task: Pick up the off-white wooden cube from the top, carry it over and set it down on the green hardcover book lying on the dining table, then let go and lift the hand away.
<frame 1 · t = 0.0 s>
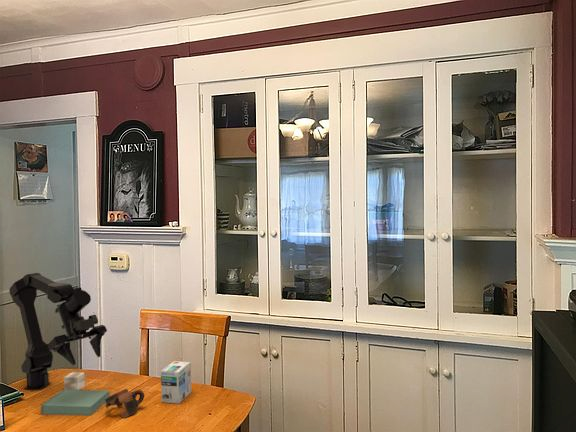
hand: (87, 360, 163), 15 cm above the table, tool tilted 35°, fingers open, 9 cm apart
wooden cube: (74, 388, 179), on the table
green book: (77, 406, 163), on the table
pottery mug: (125, 412, 158), on the table
light bulb box: (176, 397, 169), on the table
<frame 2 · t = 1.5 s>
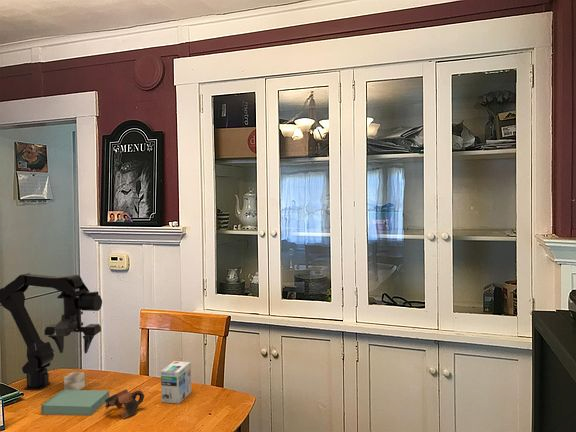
hand: (73, 353, 178), 13 cm above the table, tool pointing down, fingers open, 9 cm apart
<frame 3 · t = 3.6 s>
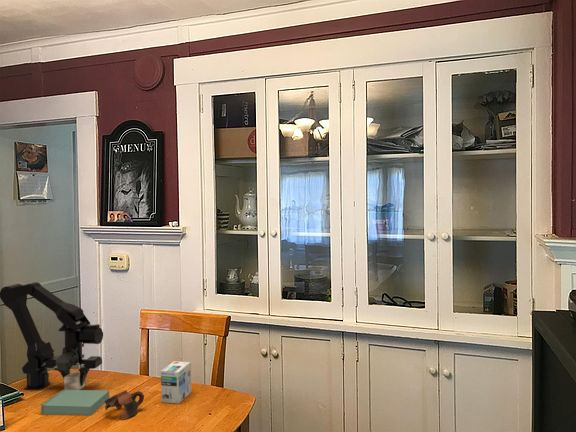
hand: (74, 385, 179), 1 cm above the table, tool pointing down, fingers closed on wooden cube, 5 cm apart
wooden cube: (74, 388, 179), on the table, touching gripper
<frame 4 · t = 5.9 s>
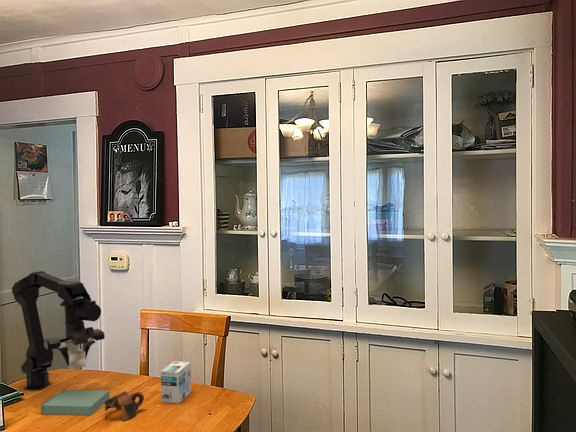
hand: (76, 363, 171), 11 cm above the table, tool pointing down, fingers closed on wooden cube, 5 cm apart
wooden cube: (76, 366, 172), point 10 cm above the table, touching gripper
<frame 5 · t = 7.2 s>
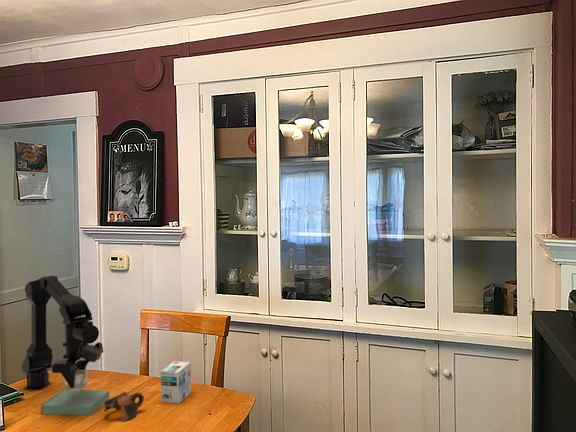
hand: (76, 384, 163), 7 cm above the table, tool pointing down, fingers closed on wooden cube, 5 cm apart
wooden cube: (76, 387, 163), point 6 cm above the table, touching gripper
when the fingers open (5 cm above the table, at t = 8.3 s): wooden cube drops 2 cm, resting on green book.
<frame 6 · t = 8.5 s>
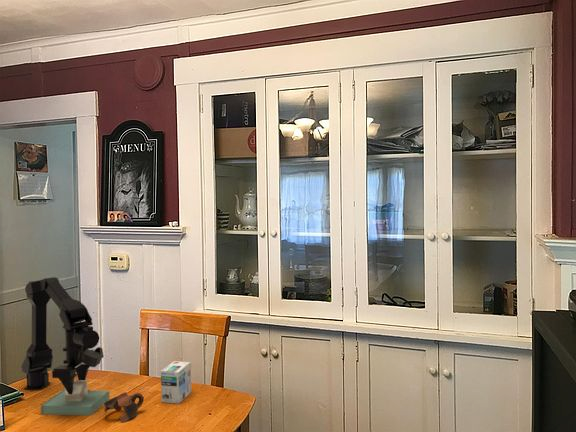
hand: (76, 389, 163), 5 cm above the table, tool pointing down, fingers open, 7 cm apart
wooden cube: (76, 397, 163), point 3 cm above the table, touching green book
green book: (77, 406, 163), on the table, touching wooden cube
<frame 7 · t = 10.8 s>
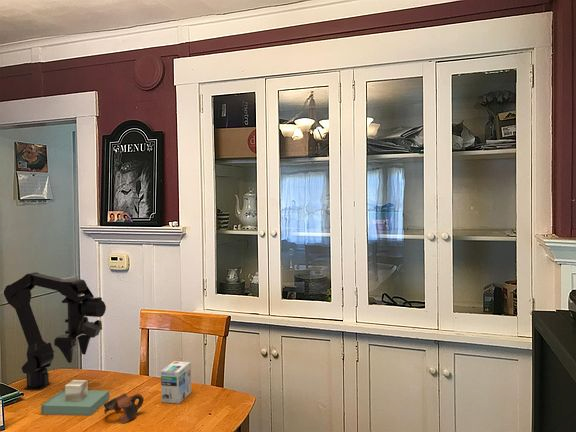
hand: (77, 358, 177), 12 cm above the table, tool pointing down, fingers open, 9 cm apart
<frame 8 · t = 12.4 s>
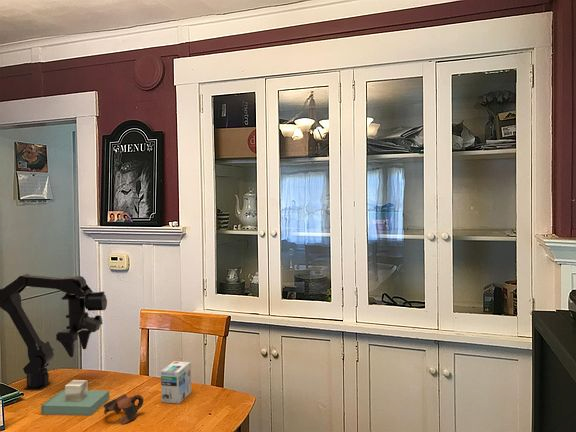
hand: (78, 352, 181), 12 cm above the table, tool pointing down, fingers open, 9 cm apart
wooden cube: (76, 397, 163), point 3 cm above the table
green book: (77, 406, 163), on the table
at the end: wooden cube inside the target area on the green book (0.0 cm from its centre), point 3.0 cm above the green book's base; wooden cube tilted 0°; wooden cube touching green book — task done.
